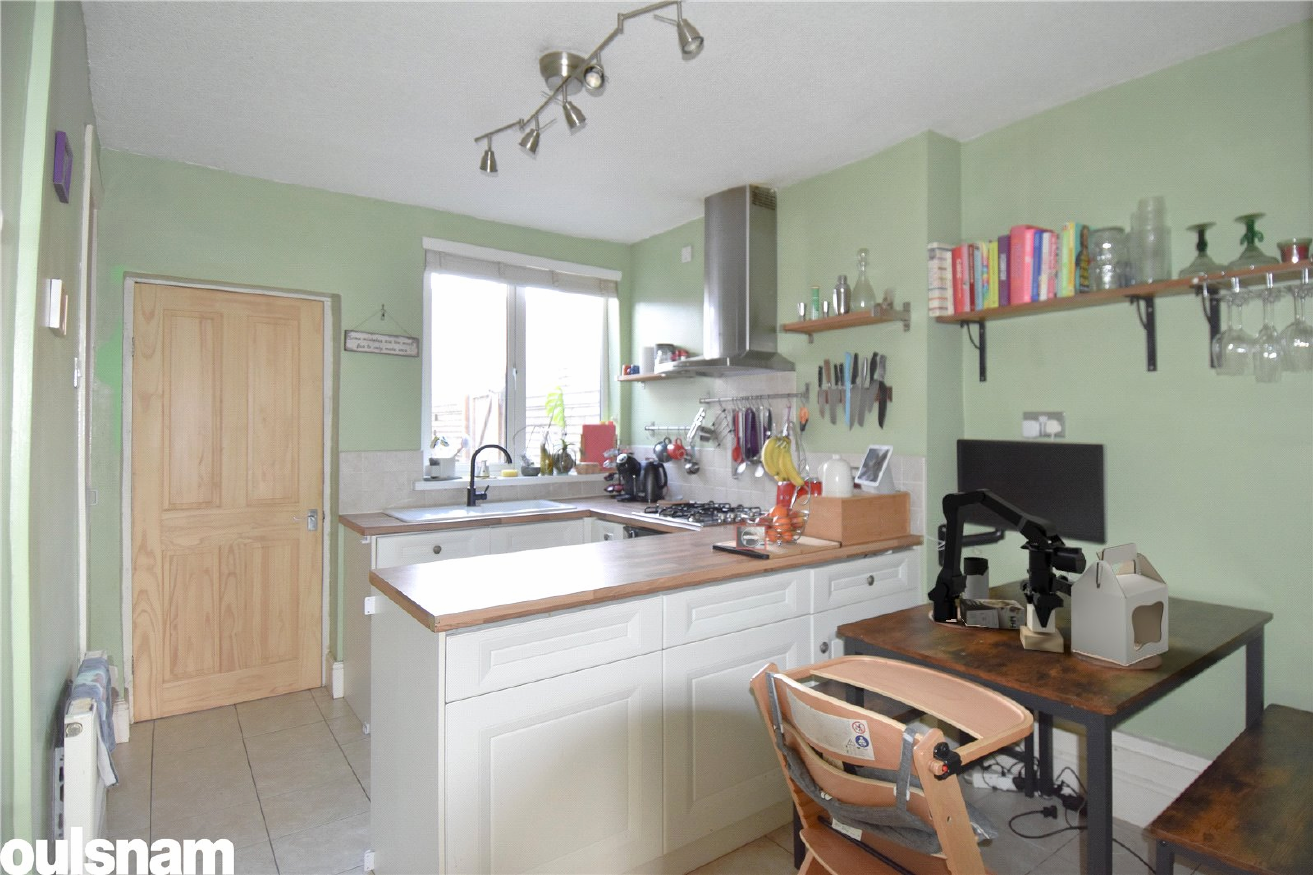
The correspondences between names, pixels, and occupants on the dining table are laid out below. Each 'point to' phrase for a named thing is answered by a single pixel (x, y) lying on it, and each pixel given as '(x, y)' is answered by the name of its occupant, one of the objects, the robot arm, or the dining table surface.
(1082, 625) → the gable box
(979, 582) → the glass holder
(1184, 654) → the dining table surface
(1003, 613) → the coffee box
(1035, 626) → the off-white plain cube
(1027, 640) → the oak block
